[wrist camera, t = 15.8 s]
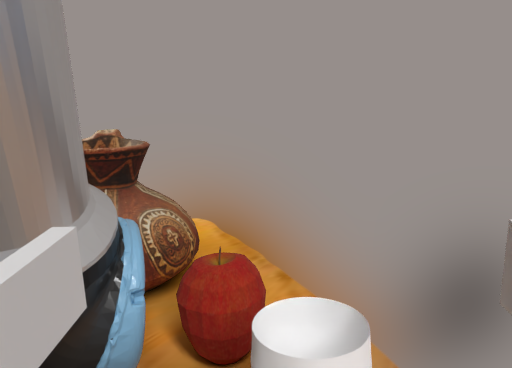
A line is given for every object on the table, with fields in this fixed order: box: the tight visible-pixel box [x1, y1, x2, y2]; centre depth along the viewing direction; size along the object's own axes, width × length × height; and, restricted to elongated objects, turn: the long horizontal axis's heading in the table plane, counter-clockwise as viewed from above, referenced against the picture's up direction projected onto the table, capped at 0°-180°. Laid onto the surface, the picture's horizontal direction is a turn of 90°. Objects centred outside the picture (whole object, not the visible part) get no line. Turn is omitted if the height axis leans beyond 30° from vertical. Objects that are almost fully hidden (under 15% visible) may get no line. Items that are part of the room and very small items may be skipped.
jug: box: [82, 129, 199, 292], centre depth 72 cm, size 30×30×25 cm
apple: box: [176, 247, 266, 365], centre depth 51 cm, size 10×10×14 cm
